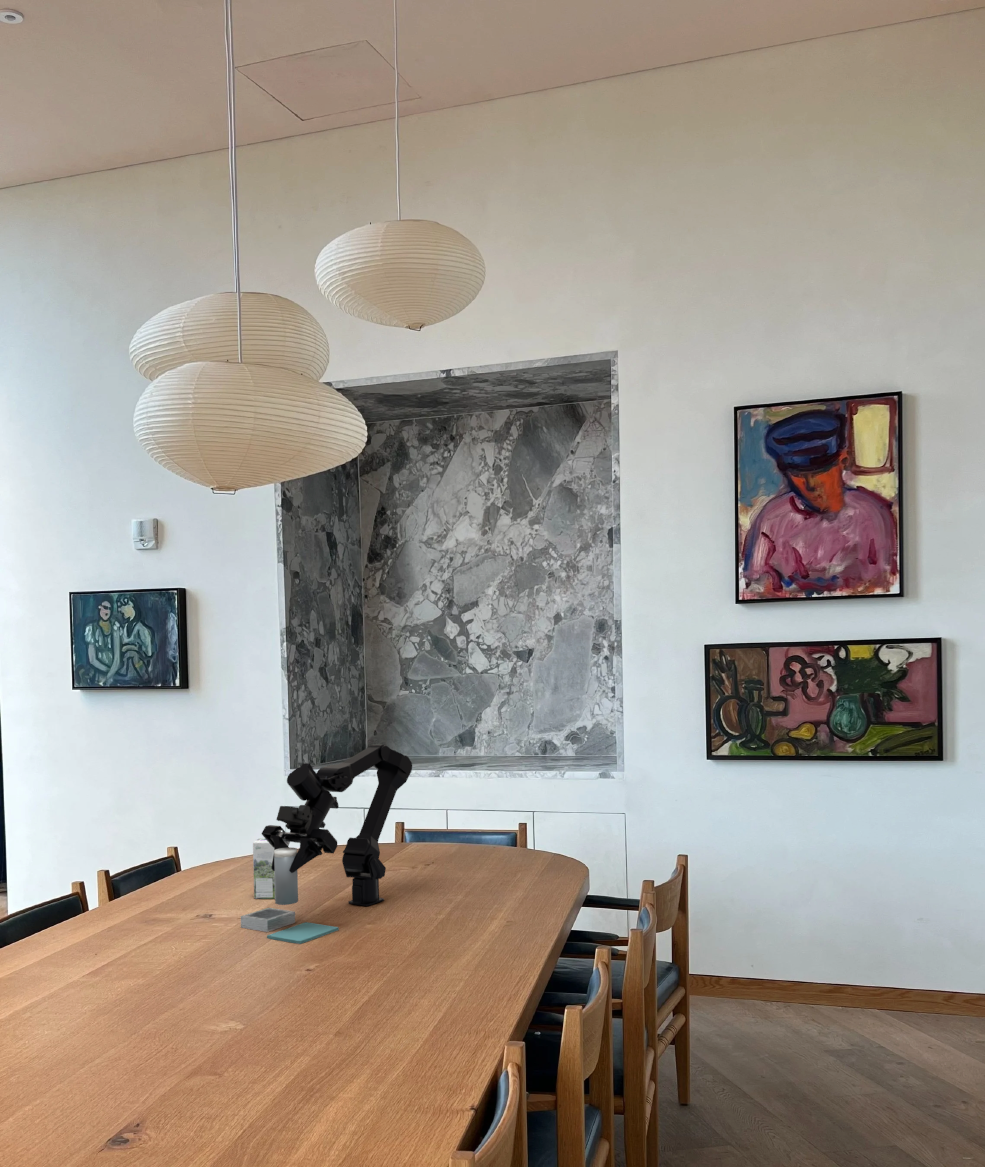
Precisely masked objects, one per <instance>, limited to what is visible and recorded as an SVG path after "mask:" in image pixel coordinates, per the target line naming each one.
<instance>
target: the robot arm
mask: <svg viewBox="0 0 985 1167" xmlns="http://www.w3.org/2000/svg"><path fill="white" fill-rule="evenodd" d="M371 768H374V769H376V776H377V781H378V785H377V786H376V790H375V793H374V795H373V797H372V801H371V803H370V805H369V808H368V810H367V814H366V815H365V818H364V822H363V824H362V827H361V829H360V832H359V834H358V835H357V836H355V837H349V838H348V839H347V841H346V845H345V848H344V849H343V851H342V853H343V855H342V859H341V862H342V865H343V869H344V873H345V877H346V878H352V879H351V880H352V885H351V895H352V896H351V897H352V898H351V900H349V901H348V904H349V905H356V906H363V907H364V906H365V907H369V906H373V905H375V904H378V903H380V902H383V901H385V898H382V897H380V883H379V880H381V879H382V878H384V877H385V876H386V869H387V868H386V866H385V865H384V864H383V863H382V861H381V860H380V854H381V852H380V846H379V840H380V837H381V834H382V832H383V831H382V830H384V826H385V823H386V820H387V819H388V818H387V817H388V815H389V813H390V810H391V807H392V804H393V802H394V798H395V797H396V793H397V791H398V790H399V789H400V788H401V787H402V786H403V785H404V784H406V783H407V781H408V780H409V778H410V775H411V773H412V770H413V762H412V761H411V759H410V758H409V756H407V755H405V754H402V753H401V752H399V751H396V750H393V749H392V748H390V747H389V746H387V745H385V744H370V745H368V746H367V748H365V749H363V750H362V751H360V752H358V753H356V754H355V755H353V756H351V757H350V758H348V759H346V760H345V761H343V762H340V763H335V764H330V765H326V766H323V767H320V768H319V769H318V770H317V772H316V771H315V769H314V768H313V766H312V765H311V763H307V762H306V763H301V765H300V766H299V767H297V768H295V769H294V770H292V771H291V772H290V773H289V774H288V775H287V778H286V783H287V785H288V787H290V789H291V790H292V791H293V792H294V794H295V795H296V796H297V797H298V798H299V799H300V800H301V801H305V803H304V804H300V805H299V806H298V807H297V806H288V805H287V806H286V805H280V806H279V809H278V812H277V815H276V816H277V817H276V819H275V820H276V821H278V822H282V823H285V828H286V829H287V830H289V832H288V831H286V830H284V828H282V826H281V825H276V824H275V825H272V824H269V825H265V827H264V828H263V830H262V831H261V836H263V838H265V839H266V840H267V841H268V842H269V843H270V844H271V845H272V847H274V850H276V849H280V848H290V847H289V845H290V843H297V844H299V848H298V849H297V854H296V856H295V858H294V860H293V862H292V864H291V867H290V869H289V871H290V872H291V873H293V872H295V871H296V870H297V871H298V870H299V869H300V868H302V867H303V866H305V865H306V864H307V863H309V862H311V861H312V860H314V859H315V858H317V857H319V856H322V854H323V853H324V854H332V855H333V854H334V853H335V852H336V850H337V848H338V840H337V839H336V838H335V836H334V835H333V834H332V833H331V832H330V830H329V829H327V828H326V829H325V827H326V823H325V822H324V820H325V819H326V817H327V815H328V814H329V812H330V809H335V810H336V809H339V802H338V798H337V796H333V794H332V793H331V792H333V793H343V792H345V791H346V790H347V789H348V788H349V787H351V786H352V785H353V782H354V779H355V778H356V777H357V776H360V775H361V774H363V773H364V772H366V771H368V770H369V769H371ZM322 850H323V851H322ZM271 869H272V870H273V871H275V865H274V855H273V861H272V867H271Z"/></svg>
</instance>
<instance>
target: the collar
mask: <svg viewBox="0 0 985 1167" xmlns="http://www.w3.org/2000/svg"><path fill="white" fill-rule="evenodd" d="M294 923H296V912H295V911H294V910H288V909H281V908H280V909H279V908H274V907H273V908H272V907H267V908H262V909H260V910H256V911H253V912H250V913H247V914H243V915H241V916H240V928H242V929H247V930H248V929H249V930H254V931H258V932H266V933H268V932H272V931H275V930H278V929H281V928H283V927H286V926H290V925H292V924H294Z"/></svg>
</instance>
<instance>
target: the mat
mask: <svg viewBox="0 0 985 1167" xmlns="http://www.w3.org/2000/svg"><path fill="white" fill-rule="evenodd" d="M339 930H340V927H338V926H332V925H325V924H320V923H314V922H307V921H305V922H302V923H300V924H296V925H294V926H291V927H288V928H287V927H286V928H285V929H282V930H279V931H275V932H273V933H271V934H268V935H266V939H270V940H273V941H274V940H275V941H280V942H286V943H291V944H292V943H293V944H299V945H302V944H304V943H307V942H310V941H313V940H316V939H318V938H321V937H323V936H326V935H329V934H331V933H335V932H338V931H339Z"/></svg>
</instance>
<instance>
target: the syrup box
mask: <svg viewBox="0 0 985 1167" xmlns="http://www.w3.org/2000/svg"><path fill="white" fill-rule="evenodd" d="M252 855H253V856H252V857H253V859H252V862H253V867H252V868H253V898H254V899H255V900H257V899H259V900H263V899H264V900H265V899H268V900H269V899H274V900H275V871H273V870H272V869H271V867H272V861H273V855H274V847H272V845H271V844H270V843H269V842H268V841H267V840H266V839H265V838H264V837H262V838H258V839H255V840H254V841H253V842H252Z"/></svg>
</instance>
